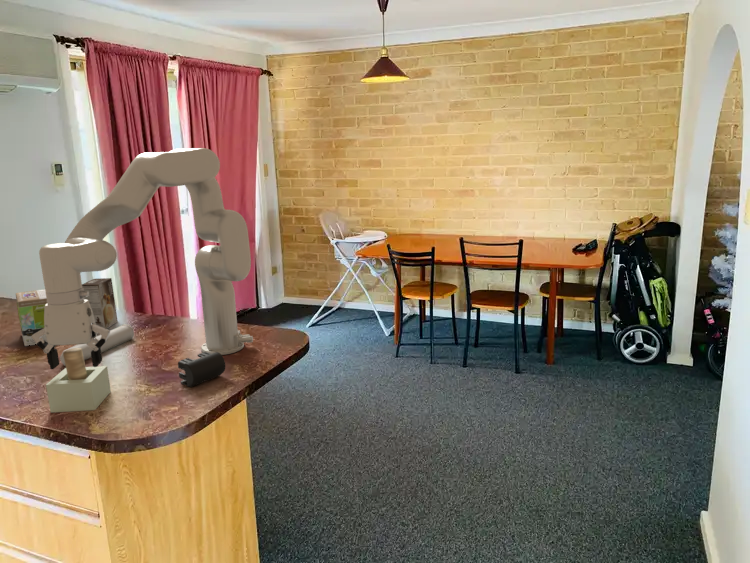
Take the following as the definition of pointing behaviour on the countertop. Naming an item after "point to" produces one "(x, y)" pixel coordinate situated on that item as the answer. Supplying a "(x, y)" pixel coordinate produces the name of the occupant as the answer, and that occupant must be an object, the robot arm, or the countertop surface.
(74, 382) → the socket block
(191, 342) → the countertop surface
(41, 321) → the tea box
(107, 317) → the coffee box
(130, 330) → the tube
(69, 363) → the peg
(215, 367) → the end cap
